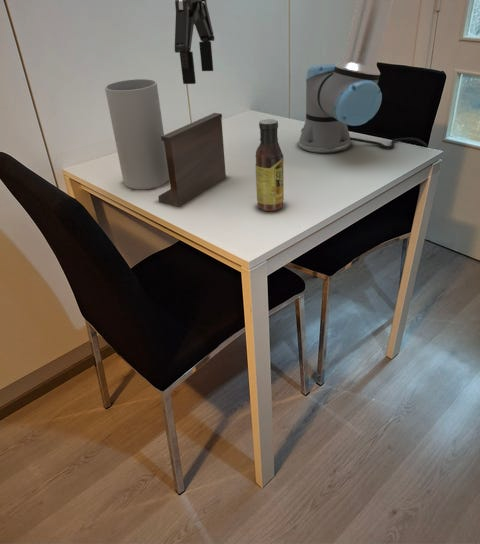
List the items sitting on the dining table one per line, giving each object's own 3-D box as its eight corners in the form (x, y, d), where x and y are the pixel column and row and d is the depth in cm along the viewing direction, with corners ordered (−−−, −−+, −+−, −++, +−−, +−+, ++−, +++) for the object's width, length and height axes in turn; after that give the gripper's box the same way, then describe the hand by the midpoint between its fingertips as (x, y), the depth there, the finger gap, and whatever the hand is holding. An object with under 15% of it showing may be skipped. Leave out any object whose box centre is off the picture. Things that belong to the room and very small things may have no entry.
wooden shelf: (226, 177, 130) (221, 113, 121) (178, 207, 116) (169, 137, 107) (207, 173, 133) (201, 111, 124) (158, 202, 119) (147, 134, 110)
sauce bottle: (281, 213, 111) (281, 126, 100) (255, 212, 112) (251, 126, 101) (285, 201, 116) (284, 117, 105) (259, 200, 117) (256, 117, 106)
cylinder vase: (162, 191, 125) (146, 90, 111) (116, 190, 127) (96, 91, 114) (175, 172, 135) (163, 78, 122) (133, 172, 138) (116, 79, 124)
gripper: (190, -31, 113) (200, 66, 124) (148, -26, 93) (164, 89, 104) (221, -33, 111) (228, 65, 123) (185, -28, 91) (197, 89, 103)
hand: (199, 77), depth 114 cm, fingers open, 13 cm apart
